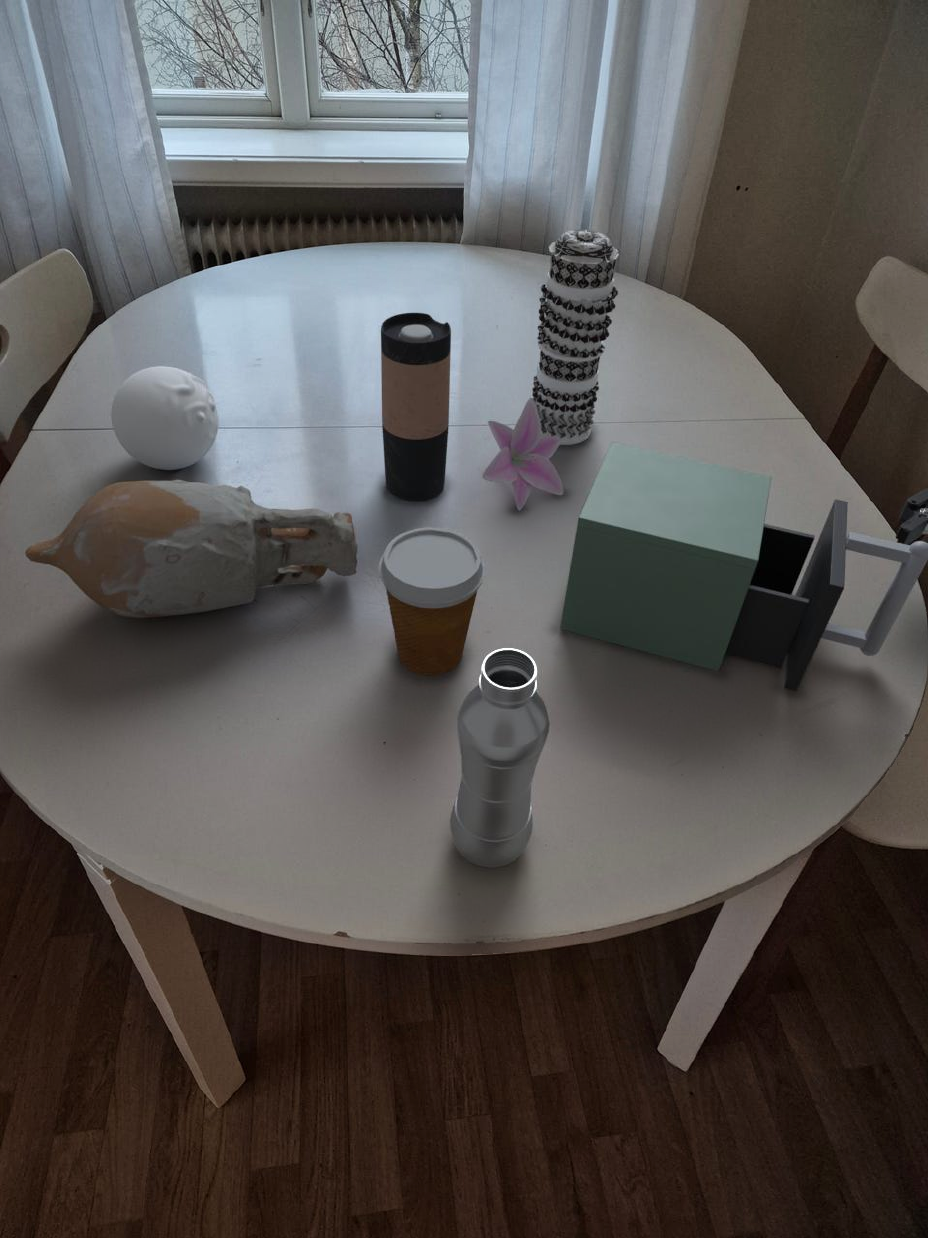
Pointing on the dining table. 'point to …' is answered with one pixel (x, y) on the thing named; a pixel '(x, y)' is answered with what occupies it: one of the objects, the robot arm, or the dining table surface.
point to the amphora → (192, 547)
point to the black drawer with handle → (815, 595)
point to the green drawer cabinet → (665, 554)
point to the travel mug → (415, 404)
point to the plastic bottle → (498, 760)
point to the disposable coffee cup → (431, 595)
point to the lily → (524, 456)
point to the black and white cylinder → (573, 333)
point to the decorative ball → (165, 417)
